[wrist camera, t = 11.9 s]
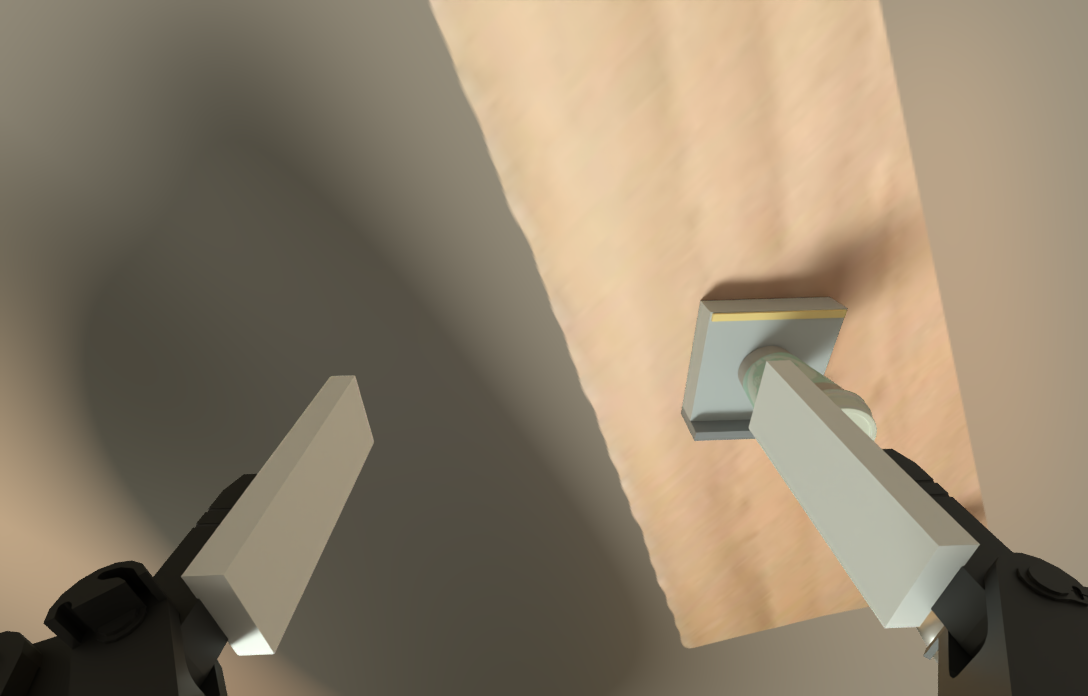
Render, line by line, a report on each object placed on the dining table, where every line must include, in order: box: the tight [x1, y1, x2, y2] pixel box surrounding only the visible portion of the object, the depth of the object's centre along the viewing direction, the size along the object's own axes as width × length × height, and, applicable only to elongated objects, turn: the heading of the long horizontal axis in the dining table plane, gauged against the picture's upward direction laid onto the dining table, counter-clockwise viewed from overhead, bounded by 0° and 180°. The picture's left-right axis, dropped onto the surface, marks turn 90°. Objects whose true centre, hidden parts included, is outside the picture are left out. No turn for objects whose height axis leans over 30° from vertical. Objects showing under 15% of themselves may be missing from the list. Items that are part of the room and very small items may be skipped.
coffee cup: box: [738, 346, 877, 441], centre depth 42 cm, size 9×9×12 cm
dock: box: [681, 297, 848, 441], centre depth 47 cm, size 15×14×5 cm
